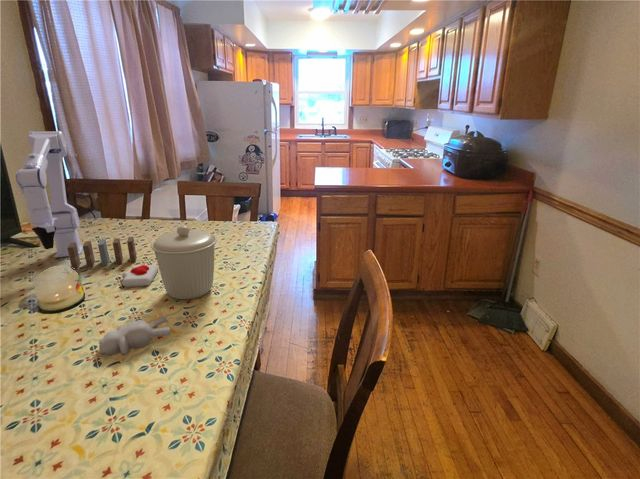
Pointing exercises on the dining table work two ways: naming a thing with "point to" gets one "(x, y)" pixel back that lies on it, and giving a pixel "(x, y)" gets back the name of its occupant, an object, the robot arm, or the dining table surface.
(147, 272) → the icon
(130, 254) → the domino
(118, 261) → the domino
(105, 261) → the loose domino
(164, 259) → the canister
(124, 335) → the bunny figurine
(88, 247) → the domino
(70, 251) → the domino
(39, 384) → the dining table surface
